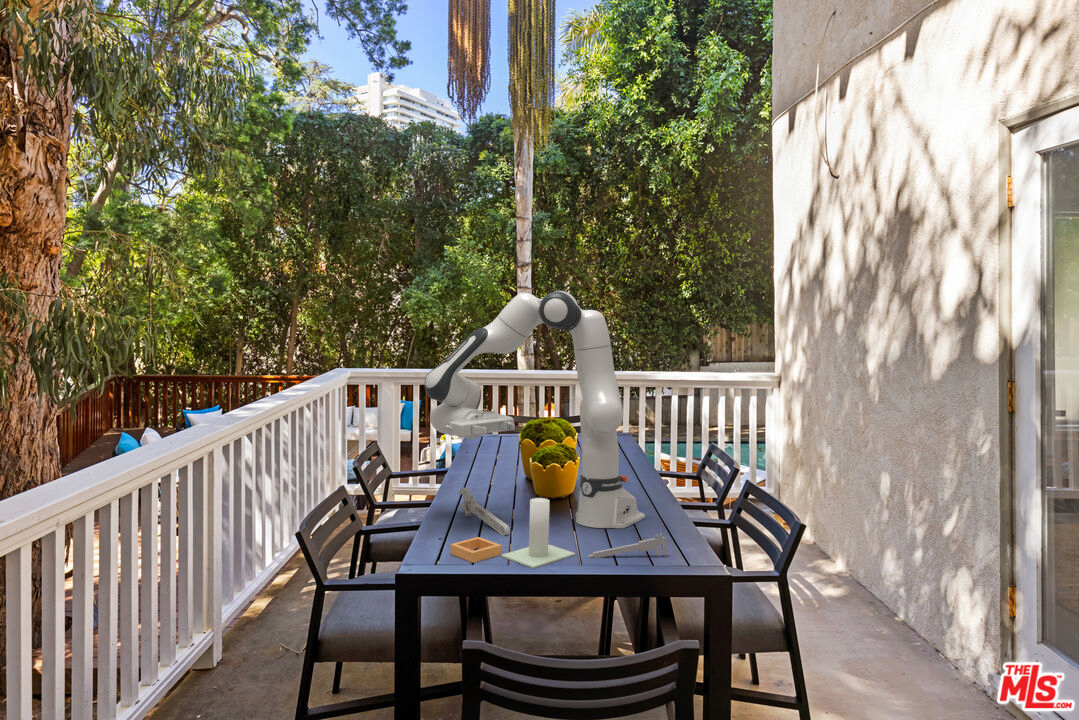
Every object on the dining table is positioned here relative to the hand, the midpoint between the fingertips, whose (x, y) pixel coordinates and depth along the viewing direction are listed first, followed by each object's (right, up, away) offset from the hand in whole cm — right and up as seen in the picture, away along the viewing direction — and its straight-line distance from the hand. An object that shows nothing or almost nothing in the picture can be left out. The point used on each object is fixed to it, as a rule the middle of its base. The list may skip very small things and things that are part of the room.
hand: (500, 429), depth 204 cm
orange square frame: (-5, -31, -16) cm, 35 cm away
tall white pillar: (+11, -31, -17) cm, 37 cm away
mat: (+11, -31, -17) cm, 37 cm away
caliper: (+34, -32, -17) cm, 49 cm away
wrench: (-6, -30, +13) cm, 33 cm away
